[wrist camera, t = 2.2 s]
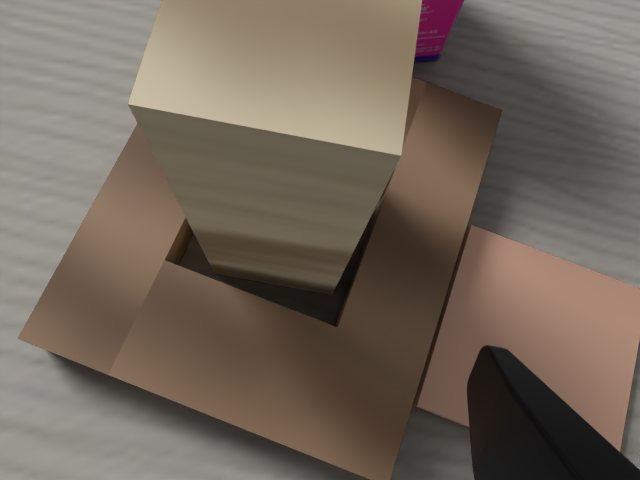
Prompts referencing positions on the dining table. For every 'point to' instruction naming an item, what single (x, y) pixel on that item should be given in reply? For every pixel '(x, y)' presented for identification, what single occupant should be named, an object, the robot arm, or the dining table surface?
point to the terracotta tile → (535, 330)
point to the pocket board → (268, 317)
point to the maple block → (278, 126)
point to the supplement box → (435, 27)
